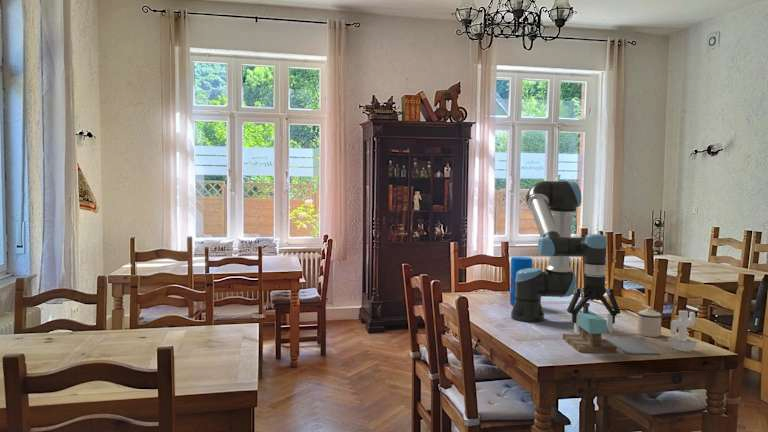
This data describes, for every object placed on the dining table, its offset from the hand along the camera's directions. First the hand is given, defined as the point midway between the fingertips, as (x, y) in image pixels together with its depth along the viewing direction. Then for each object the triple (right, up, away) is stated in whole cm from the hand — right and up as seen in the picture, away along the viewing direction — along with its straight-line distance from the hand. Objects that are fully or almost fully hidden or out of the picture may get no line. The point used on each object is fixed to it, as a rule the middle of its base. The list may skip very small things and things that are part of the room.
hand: (592, 331), depth 203 cm
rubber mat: (+16, -6, +3) cm, 17 cm away
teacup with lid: (+32, -6, +23) cm, 40 cm away
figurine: (+34, -7, 0) cm, 35 cm away
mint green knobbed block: (0, +1, +3) cm, 3 cm away
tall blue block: (-8, -3, +77) cm, 78 cm away
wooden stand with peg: (0, -6, +4) cm, 8 cm away
